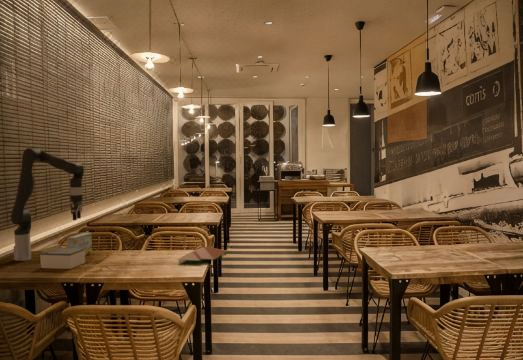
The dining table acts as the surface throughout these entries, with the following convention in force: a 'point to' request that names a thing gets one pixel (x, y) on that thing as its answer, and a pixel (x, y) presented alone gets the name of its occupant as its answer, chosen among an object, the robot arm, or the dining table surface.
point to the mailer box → (63, 260)
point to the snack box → (81, 242)
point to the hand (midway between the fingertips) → (76, 219)
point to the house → (203, 255)
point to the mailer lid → (60, 250)
